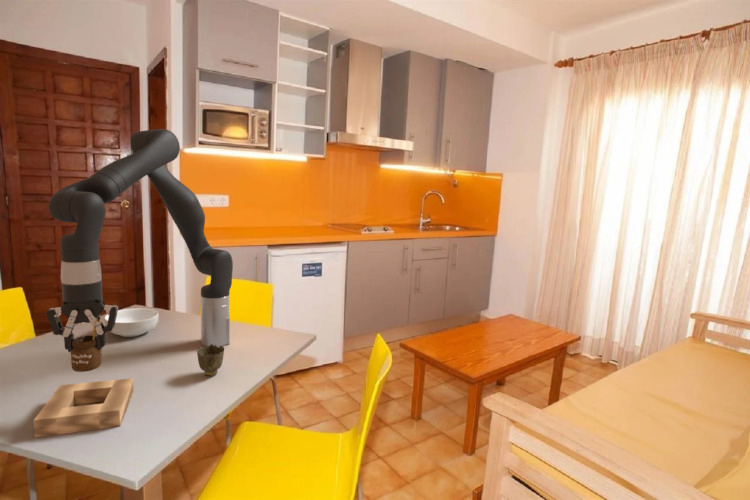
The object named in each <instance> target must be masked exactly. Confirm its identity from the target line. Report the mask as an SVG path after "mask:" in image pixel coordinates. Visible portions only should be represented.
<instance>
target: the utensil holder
mask: <svg viewBox="0 0 750 500" xmlns="http://www.w3.org/2000/svg"><path fill="white" fill-rule="evenodd" d="M96 321H98V319H97V320H96ZM96 321H95V324H94V327H93V328H92V333H93V334H87V335H86V331H85V328H84V325H82V323H79V324H80V326H81V329H83V330H81V333H82V335H78V336H77V335H76V331H75V329H73V331H72V334H74V339H73V341H72V346H73V348H72V350H71V352H70V363H71V364H70V366H71V369H72V371H74V372H78V373H83V372H90V371H94V370H97V369H98V368H99V367H101V366H102V362H103V357H102V349H100V350H98V349H97V331H96V329H95V327H96V326H95V325H96ZM99 322H100V319H99ZM75 326H76V327H77V333H78V334H81V333H80V331H79V330H80V328H79V325H78V323H76V324H75Z"/></svg>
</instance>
